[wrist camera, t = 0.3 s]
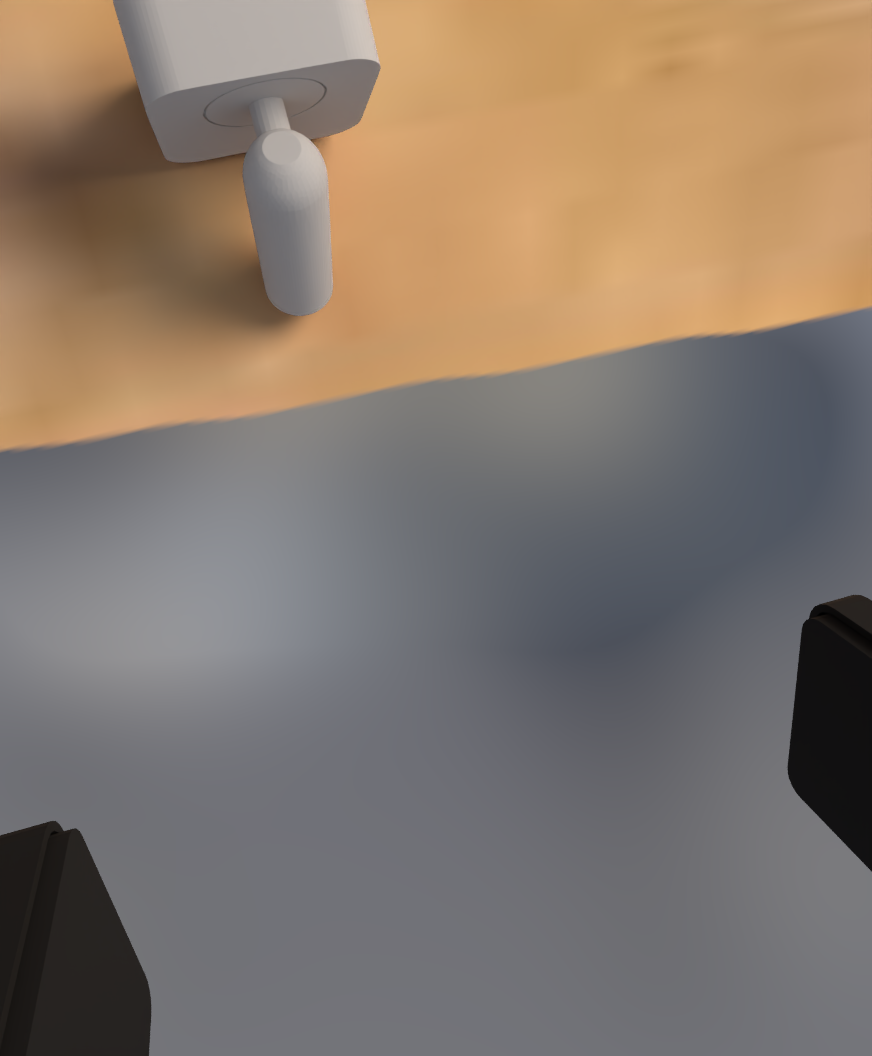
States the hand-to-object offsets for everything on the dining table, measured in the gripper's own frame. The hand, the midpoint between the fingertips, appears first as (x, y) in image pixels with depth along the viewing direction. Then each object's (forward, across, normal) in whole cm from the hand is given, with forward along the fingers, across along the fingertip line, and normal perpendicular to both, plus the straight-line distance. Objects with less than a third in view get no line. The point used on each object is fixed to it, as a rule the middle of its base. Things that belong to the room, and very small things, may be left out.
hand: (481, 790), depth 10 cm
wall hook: (+31, -1, -7) cm, 32 cm away
